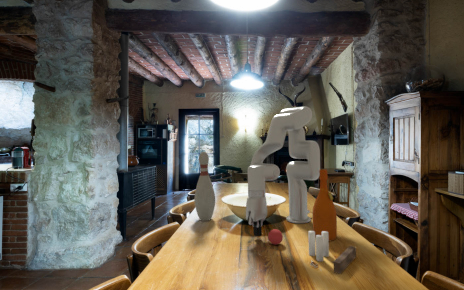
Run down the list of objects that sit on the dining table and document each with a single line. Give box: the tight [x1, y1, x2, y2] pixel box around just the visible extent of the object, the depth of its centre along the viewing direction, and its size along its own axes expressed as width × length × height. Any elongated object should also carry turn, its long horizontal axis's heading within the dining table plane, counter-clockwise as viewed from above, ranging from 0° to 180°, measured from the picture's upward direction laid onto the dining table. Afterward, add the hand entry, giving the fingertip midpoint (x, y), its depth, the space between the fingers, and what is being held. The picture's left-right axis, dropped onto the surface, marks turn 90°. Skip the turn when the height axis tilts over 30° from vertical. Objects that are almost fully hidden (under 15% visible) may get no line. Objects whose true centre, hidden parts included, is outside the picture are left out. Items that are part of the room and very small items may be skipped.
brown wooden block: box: [333, 245, 357, 275], centre depth 88 cm, size 16×2×4 cm, turn 138°
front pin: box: [307, 230, 316, 257], centre depth 96 cm, size 2×2×8 cm
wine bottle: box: [312, 168, 338, 242], centre depth 112 cm, size 10×10×30 cm
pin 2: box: [321, 231, 330, 257], centre depth 95 cm, size 2×2×8 cm
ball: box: [267, 228, 284, 245], centre depth 107 cm, size 6×6×6 cm
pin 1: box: [315, 235, 324, 262], centre depth 91 cm, size 2×2×8 cm
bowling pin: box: [193, 151, 216, 222], centre depth 144 cm, size 11×12×38 cm
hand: (257, 235), depth 113 cm, fingers closed
